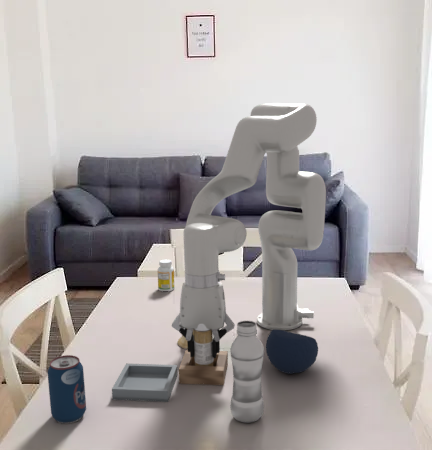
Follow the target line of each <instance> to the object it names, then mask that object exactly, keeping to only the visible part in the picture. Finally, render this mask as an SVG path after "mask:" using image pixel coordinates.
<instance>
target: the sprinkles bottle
mask: <svg viewBox="0 0 432 450" xmlns="http://www.w3.org/2000/svg"><path fill="white" fill-rule="evenodd" d="M193 330H194V359H195V366H213V361H214V358H213V354H212V341H213V338H214V336H213V333H212V329H207V328H206V326H205V325H204V324H199V325H198V327H197V328H196V329H193Z"/></svg>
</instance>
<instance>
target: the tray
mask: <svg viewBox="0 0 432 450" xmlns="http://www.w3.org/2000/svg"><path fill="white" fill-rule="evenodd" d="M178 377H179V368H178V364H159V363H158V364H155V363H151V364H150V363H129V362H128V363H126V364H124V366H123V368H122V370H121V372H120V373H119V375H118V377H117V378H116V381H115V383H114V384H113V386H112V387H111V397H112V400H113V401H114V400H116V401H135V402H136V401H141V402H161V403H162V402H164V403H165V402H167V403H168V402H169V400H170V398H171V395H172V392H173V389H174V387H175V384H176V380H177V378H178Z"/></svg>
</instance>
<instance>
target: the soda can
mask: <svg viewBox="0 0 432 450" xmlns="http://www.w3.org/2000/svg"><path fill="white" fill-rule="evenodd" d="M84 374H85V373H84V366H83V364H82V363H81V360H80V358H79V357H78V356H76V355H72V354H71V355H69V354H66V355H60V356H58V357H55V358H53V359H52V360H50V361H49V367H48V369H47V382H48V383H47V384H48V392H49V393H48V395H49V406H50V413H51V416H52V418H53V419H54V420H55V421H56V422H57V423H59V424H72V423H76V422H77V421H80V420H81V419H82V418H83V417H84V414H85V413H86V411H87V398H86V387H85V386H86V385H85V375H84Z"/></svg>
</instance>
